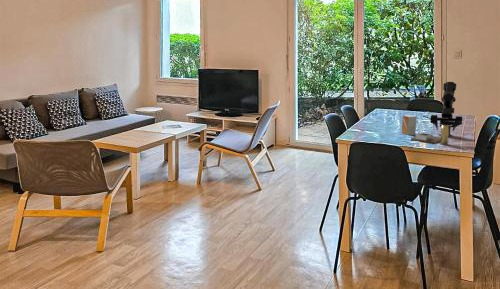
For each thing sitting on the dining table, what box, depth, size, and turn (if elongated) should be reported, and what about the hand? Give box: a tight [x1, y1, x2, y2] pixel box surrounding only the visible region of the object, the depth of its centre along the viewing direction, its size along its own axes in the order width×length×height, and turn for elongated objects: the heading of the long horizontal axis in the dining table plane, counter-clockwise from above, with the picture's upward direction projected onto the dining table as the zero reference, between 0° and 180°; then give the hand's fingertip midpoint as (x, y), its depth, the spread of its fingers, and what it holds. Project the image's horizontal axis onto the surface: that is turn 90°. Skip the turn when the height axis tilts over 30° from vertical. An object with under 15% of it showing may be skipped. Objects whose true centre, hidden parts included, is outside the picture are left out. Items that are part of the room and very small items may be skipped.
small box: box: [401, 114, 417, 136], centre depth 319 cm, size 8×6×13 cm
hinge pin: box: [439, 124, 449, 146], centre depth 285 cm, size 4×4×12 cm
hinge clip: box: [415, 132, 434, 141], centre depth 297 cm, size 8×8×3 cm
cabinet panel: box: [410, 136, 441, 144], centre depth 299 cm, size 16×16×1 cm
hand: (445, 130), depth 286 cm, fingers open, 9 cm apart
